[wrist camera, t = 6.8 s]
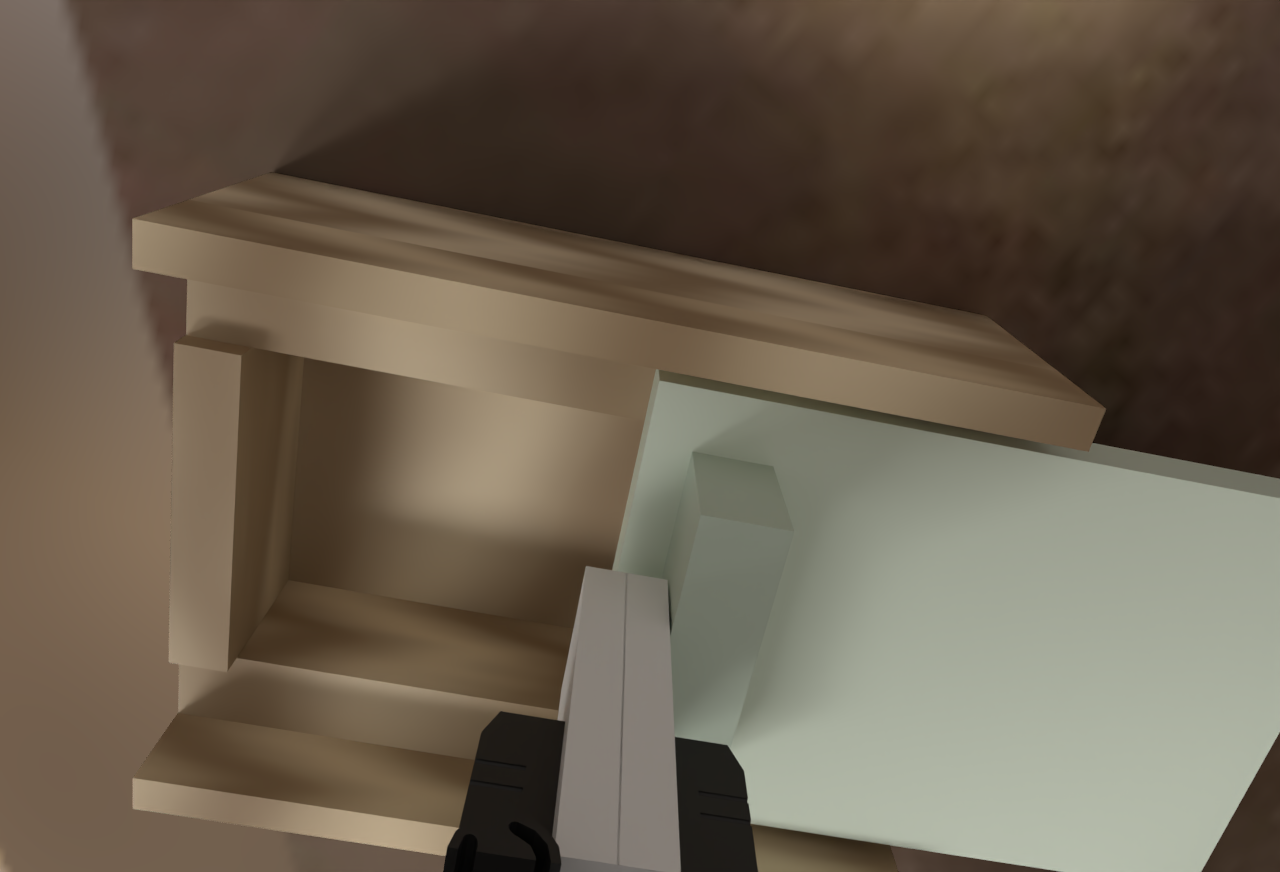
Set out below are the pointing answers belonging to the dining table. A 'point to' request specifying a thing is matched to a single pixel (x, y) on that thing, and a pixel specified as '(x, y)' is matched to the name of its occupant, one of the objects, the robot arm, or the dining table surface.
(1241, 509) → the lid
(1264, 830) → the dining table surface
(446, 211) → the box
